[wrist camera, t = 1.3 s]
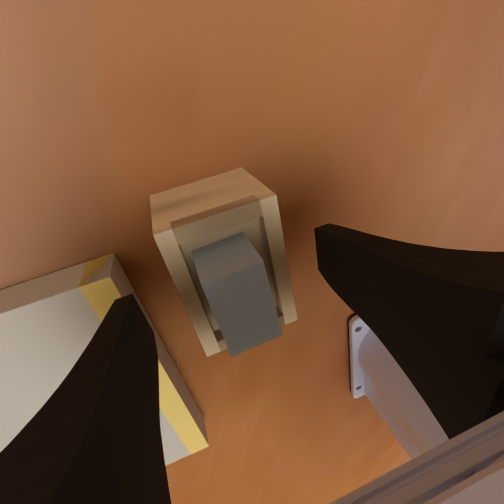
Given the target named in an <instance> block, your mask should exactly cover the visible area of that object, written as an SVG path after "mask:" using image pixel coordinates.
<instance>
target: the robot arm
mask: <svg viewBox="0 0 504 504" xmlns="http://www.w3.org/2000/svg"><path fill="white" fill-rule="evenodd" d="M314 230H315V240H316V251H317V261H318V270H319V271H320V273H321V274H322V276H323V277H324V279H325V280H326V281H327V283H328V284H329V285H330V287H331V288H332V289H333V290H334V291H335V292H336V293H337V295H338V296H339V297H340V298H341V299H342V300H343V301H344V302H345V303H346V304H347V305H348V306H349V307H350V308H351V309H352V310H353V311H354V312H355V313H356V314H357V315H356V316H354V317H352V318H351V320H350V321H349V340H350V369H351V394H352V396H353V397H354V398H359V397H361V396H364V395H366V397H367V398H368V400H369V401H370V402H371V404H372V405H373V406H374V408H375V409H376V411H377V412H378V413H379V415H380V416H381V418H382V419H383V420H384V422H385V423H386V424H387V426H388V427H389V429H390V430H391V431H392V433H393V434H394V435H395V437H396V438H397V440H398V441H399V442H400V444H401V445H402V447H403V448H404V449H405V451H406V452H407V453H408V455H409V456H410V458H411V459H412V460H411V461H409V462H407V463H405V464H403V465H401V466H399V467H397V468H396V469H394V470H392V471H390V472H388V473H386V474H384V475H382V476H381V477H379V478H377V479H375V480H373V481H371V482H369V483H367V484H366V485H364V486H362V487H360V488H358V489H356V490H354V491H353V492H351V493H349V494H347V495H345V496H343V497H341V498H339V499H338V500H336V501H334V502H332V503H330V504H504V252H485V251H468V250H455V249H445V248H437V247H430V246H423V245H416V244H411V243H406V242H401V241H396V240H392V239H387V238H383V237H379V236H375V235H371V234H367V233H364V232H360V231H357V230H353V229H349V228H346V227H342V226H338V225H333V224H325V225H323V226H320V227H317V228H314ZM0 504H171V499H170V493H169V487H168V480H167V473H166V467H165V460H164V452H163V444H162V437H161V428H160V406H159V366H158V353H157V346H156V340H155V335H154V331H153V330H152V328H151V326H150V324H149V323H148V321H147V319H146V317H145V315H144V314H143V312H142V310H141V308H140V306H139V305H138V303H137V301H136V299H135V297H134V296H133V294H129V295H127V296H124V297H121V298H118V299H115V301H114V302H113V304H112V305H111V307H110V309H109V310H108V312H107V314H106V316H105V317H104V319H103V321H102V322H101V324H100V326H99V327H98V329H97V331H96V332H95V334H94V336H93V337H92V339H91V341H90V342H89V344H88V345H87V347H86V348H85V350H84V351H83V353H82V354H81V356H80V357H79V359H78V360H77V362H76V363H75V365H74V366H73V368H72V369H71V371H70V372H69V373H68V375H67V376H66V377H65V379H64V380H63V381H62V383H61V384H60V385H59V387H58V388H57V389H56V390H55V392H54V393H53V394H52V395H51V397H50V398H49V399H48V400H47V402H46V403H45V404H44V405H43V406H42V408H41V409H40V410H39V411H38V412H37V413H36V414H35V415H34V417H33V418H32V419H31V420H30V421H29V422H28V423H27V424H26V425H25V427H24V428H23V429H22V430H21V431H20V432H19V433H18V434H17V435H16V437H15V438H14V439H13V440H12V441H11V442H10V443H9V444H8V445H7V446H6V447H5V448H4V449H3V450H2V451H1V452H0Z"/></svg>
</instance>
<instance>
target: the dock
mask: <svg viewBox="0 0 504 504" xmlns="http://www.w3.org/2000/svg"><path fill="white" fill-rule="evenodd" d="M129 294H133V296H134V297H135V299H136V301H137V303H138V305H139V306H140V308H141V310H142V312H143V314H144V315H145V317H146V319H147V321H148V323H149V324H150V326H151V328H152V330H153V331H154V335H155V340H156V346H157V353H158V366H159V406H160V428H161V437H162V444H163V452H164V460H165V466H166V465H168V464H171V463H173V462H175V461H177V460H179V459H182V458H184V457H186V456H188V455H190V454H193V453H195V452H198V451H200V450H202V449H204V448H206V447H209V443H208V438H207V433H206V427H205V422H204V417H203V415H202V413H201V411H200V410H199V408H198V406H197V404H196V402H195V400H194V399H193V397H192V395H191V393H190V391H189V390H188V388H187V386H186V384H185V382H184V380H183V379H182V377H181V375H180V373H179V371H178V369H177V368H176V366H175V364H174V362H173V360H172V358H171V357H170V355H169V353H168V351H167V349H166V347H165V346H164V344H163V342H162V340H161V338H160V336H159V335H158V333H157V331H156V329H155V327H154V325H153V324H152V322H151V320H150V318H149V316H148V314H147V313H146V311H145V309H144V307H143V305H142V303H141V302H140V300H139V298H138V296H137V294H136V292H135V291H134V289H133V287H132V285H131V283H130V281H129V280H128V278H127V276H126V274H125V272H124V270H123V269H122V267H121V265H120V263H119V261H118V259H117V258H116V256H115V254H114V253H111V254H108V255H105V256H102V257H99V258H96V259H93V260H90V261H87V262H84V263H81V264H78V265H74V266H71V267H68V268H65V269H62V270H59V271H56V272H53V273H50V274H47V275H44V276H41V277H38V278H35V279H32V280H29V281H26V282H23V283H20V284H17V285H14V286H11V287H8V288H5V289H2V290H0V452H1V451H2V450H3V449H4V448H5V447H6V446H7V445H8V444H9V443H10V442H11V441H12V440H13V439H14V438H15V437H16V435H17V434H18V433H19V432H20V431H21V430H22V429H23V428H24V427H25V425H26V424H27V423H28V422H29V421H30V420H31V419H32V418H33V417H34V415H35V414H36V413H37V412H38V411H39V410H40V409H41V408H42V406H43V405H44V404H45V403H46V402H47V400H48V399H49V398H50V397H51V395H52V394H53V393H54V392H55V390H56V389H57V388H58V387H59V385H60V384H61V383H62V381H63V380H64V379H65V377H66V376H67V375H68V373H69V372H70V371H71V369H72V368H73V366H74V365H75V363H76V362H77V360H78V359H79V357H80V356H81V354H82V353H83V351H84V350H85V348H86V347H87V345H88V344H89V342H90V341H91V339H92V337H93V336H94V334H95V332H96V331H97V329H98V327H99V326H100V324H101V322H102V321H103V319H104V317H105V316H106V314H107V312H108V310H109V309H110V307H111V305H112V304H113V302H114V301H115V299H118V298H121V297H124V296H127V295H129Z"/></svg>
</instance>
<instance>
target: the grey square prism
mask: <svg viewBox="0 0 504 504" xmlns="http://www.w3.org/2000/svg"><path fill="white" fill-rule="evenodd" d="M191 253H192V256H193V260H194V263H195V266H196V270H197V273H198V276H199V279H200V283H201V286H202V288H203V290H204V293H205V295H206V297H207V300H208V302H209V304H210V307H211V309H212V312H213V314H214V316H215V319H216V321H217V323H218V326H219V328H220V330H221V333H222V335H223V337H224V340H225V342H226V344H227V347H228V349H229V351H230V354H231V356H232V357H233V356H235V355H237V354H240V353H242V352H244V351H246V350H249V349H251V348H253V347H256V346H258V345H260V344H262V343H265V342H267V341H269V340H272V339H274V338H276V337H278V336H281V335H283V334H282V330H281V326H280V322H279V318H278V315H277V311H276V307H275V303H274V299H273V295H272V292H271V288H270V284H269V280H268V276H267V272H266V269H265V265H264V261H263V259H262V258H261V257H260V255H259V254H258V252H257V251H256V249H255V248H254V247H253V245H252V244H251V242H250V241H249V240H248V238H247V237H246V235H245V234H244V232H240V233H238V234H235V235H232V236H230V237H227V238H224V239H222V240H219V241H216V242H214V243H211V244H208V245H206V246H203V247H200V248H198V249H195V250H192V251H191Z"/></svg>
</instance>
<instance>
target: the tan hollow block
mask: <svg viewBox="0 0 504 504" xmlns="http://www.w3.org/2000/svg"><path fill="white" fill-rule="evenodd" d="M150 207H151V218H152V230H153V237H154V239H155V241H156V243H157V246H158V248H159V250H160V252H161V255H162V257H163V259H164V261H165V264H166V266H167V268H168V270H169V273H170V275H171V277H172V279H173V282H174V284H175V286H176V288H177V290H178V293H179V295H180V297H181V299H182V302H183V304H184V306H185V308H186V311H187V313H188V315H189V317H190V320H191V322H192V324H193V326H194V329H195V331H196V333H197V335H198V337H199V340H200V342H201V344H202V346H203V349H204V351H205V353H206V355H207V357H208V356H211V355H213V354H216V353H218V352H221V351H223V350H225V349H228V347H227V344H226V342H225V340H224V337H223V335H222V333H221V330H220V328H219V326H218V323H217V321H216V319H215V316H214V314H213V312H212V309H211V307H210V304H209V302H208V300H207V297H206V295H205V293H204V290H203V288H202V286H201V283H200V279H199V276H198V273H197V270H196V266H195V263H194V260H193V256H192V253H191V251H192V250H195V249H198V248H200V247H203V246H206V245H208V244H211V243H214V242H216V241H219V240H222V239H224V238H227V237H230V236H232V235H235V234H238V233H240V232H244V234H245V235H246V237H247V238H248V240H249V241H250V242H251V244H252V245H253V247H254V248H255V249H256V251H257V252H258V254H259V255H260V257H261V258H262V259H263V261H264V265H265V269H266V272H267V276H268V280H269V284H270V288H271V292H272V295H273V299H274V303H275V307H276V311H277V315H278V318H279V322H280V326H281V327H282V326H284V325H286V324H289V323H291V322H294V321H296V320H298V319H297V313H296V307H295V301H294V295H293V289H292V284H291V278H290V272H289V266H288V260H287V254H286V248H285V242H284V237H283V231H282V225H281V219H280V213H279V207H278V201H277V195H276V194H275V193H274V192H272V191H271V190H270V189H269V188H267V187H266V186H265V185H264V184H262V183H261V182H260V181H259V180H257V179H256V178H255V177H254V176H253V175H251V174H250V173H249V172H248V171H246V170H245V169H244V168H243V167H241V168H237V169H234V170H231V171H227V172H224V173H221V174H218V175H214V176H211V177H208V178H205V179H201V180H198V181H195V182H192V183H188V184H185V185H182V186H179V187H175V188H172V189H169V190H166V191H162V192H159V193H156V194H153V195H150Z"/></svg>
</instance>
